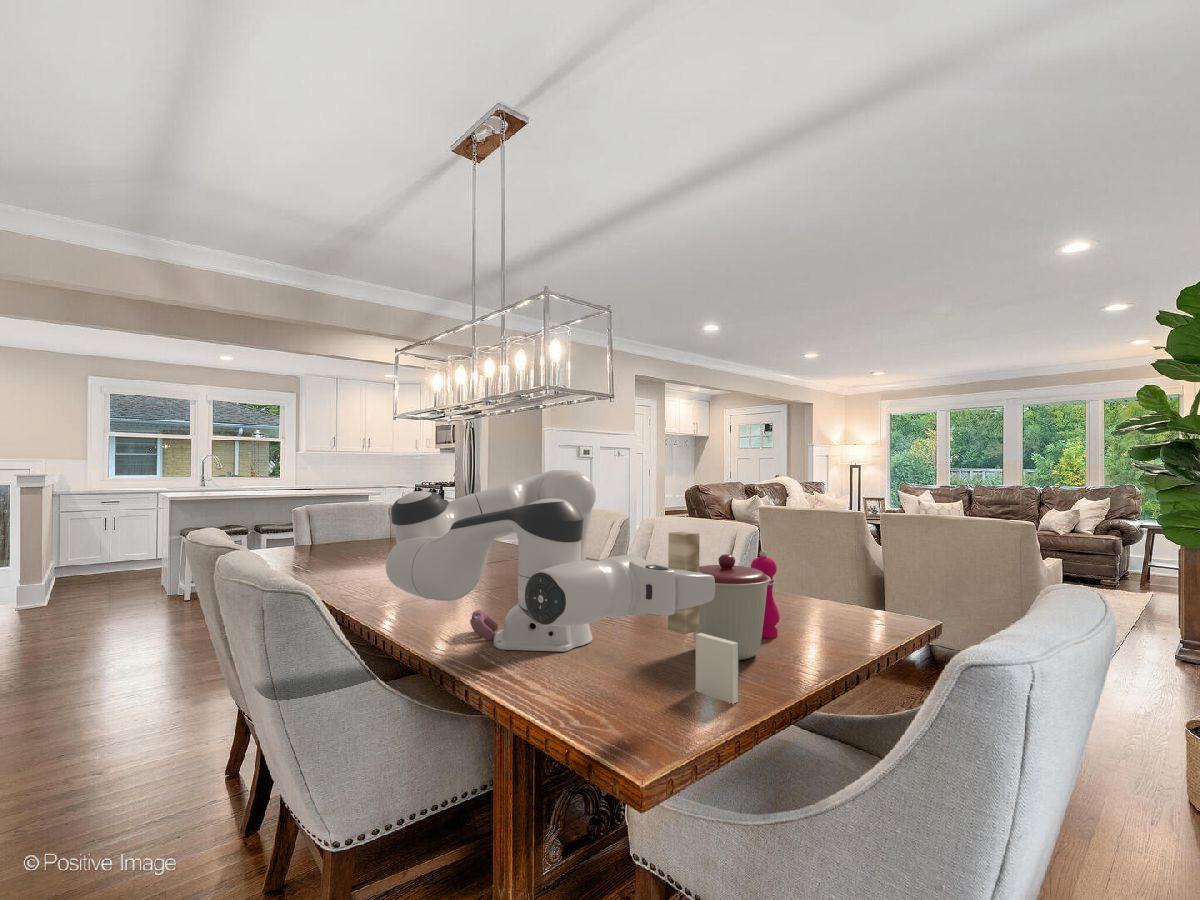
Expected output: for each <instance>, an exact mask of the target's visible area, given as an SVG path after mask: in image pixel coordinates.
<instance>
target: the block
mask: <svg viewBox="0 0 1200 900" xmlns="http://www.w3.org/2000/svg"><path fill="white" fill-rule="evenodd" d="M667 544H668V549H667V551H668V554H667V555H668V559H667V561H668V565H667V567H669V568H675V569H680V570H686V571H698V572H699V567H700V533H699V532H692V531H691V532H690V531H673V532H668V543H667ZM667 617H668V618H667V630H668V631H671V632H675V633H676V634H677V633H678V634H681V635H688V634H692V633H693V632H696V631H699V605H698V606H694V607H690V608H686V609H675V613H674V614H673V615H669V616H667Z"/></svg>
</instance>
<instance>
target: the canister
mask: <svg viewBox="0 0 1200 900" xmlns="http://www.w3.org/2000/svg"><path fill="white" fill-rule="evenodd" d="M735 564H736V559H735V557H734V556H733V555H731V554H726V553H725V554H721V555H720V556H719V557H718V564H710V565H699V572H702V573H703V574H709V575H712V576H713V577H714V579H715V596H714V599H713V600H712V601H710V602H708V603H704V604H701V605H699V631H696V632H692V633H693V640H694V643H695V645H696V634H698V633H704V634H708V635H712V636H716V637H719V638H723V639H727V640H730V641H734V642H738V661H742V660H743V661H744V660H747V659H751V658H753V657H755V655H757V653H758V652H759V650H760V647H761V643H762V639H763V638H762V631H763V623H764V614H765V604H766V594H767V584H768V583H769V582H770V581H771V578H770V577H769V576H767V575H765V574H764V573H763V572H762V571H760V570H757V569H754V568H751V566H750V567H749V566H744V565H735Z"/></svg>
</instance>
